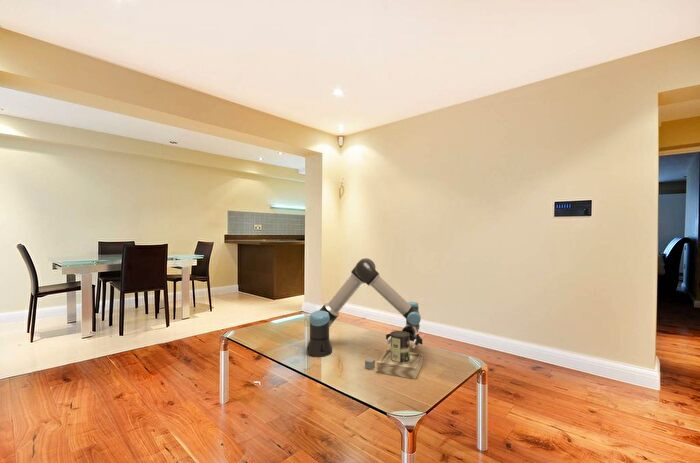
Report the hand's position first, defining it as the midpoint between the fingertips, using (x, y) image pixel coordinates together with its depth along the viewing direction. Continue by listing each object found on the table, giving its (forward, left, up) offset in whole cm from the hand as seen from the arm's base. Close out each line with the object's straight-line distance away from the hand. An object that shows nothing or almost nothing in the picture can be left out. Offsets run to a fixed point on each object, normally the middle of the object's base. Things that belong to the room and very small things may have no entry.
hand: (400, 344), depth 166 cm
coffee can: (0, +1, -9) cm, 9 cm away
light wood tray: (0, +1, -13) cm, 13 cm away
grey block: (-15, -5, -13) cm, 21 cm away
